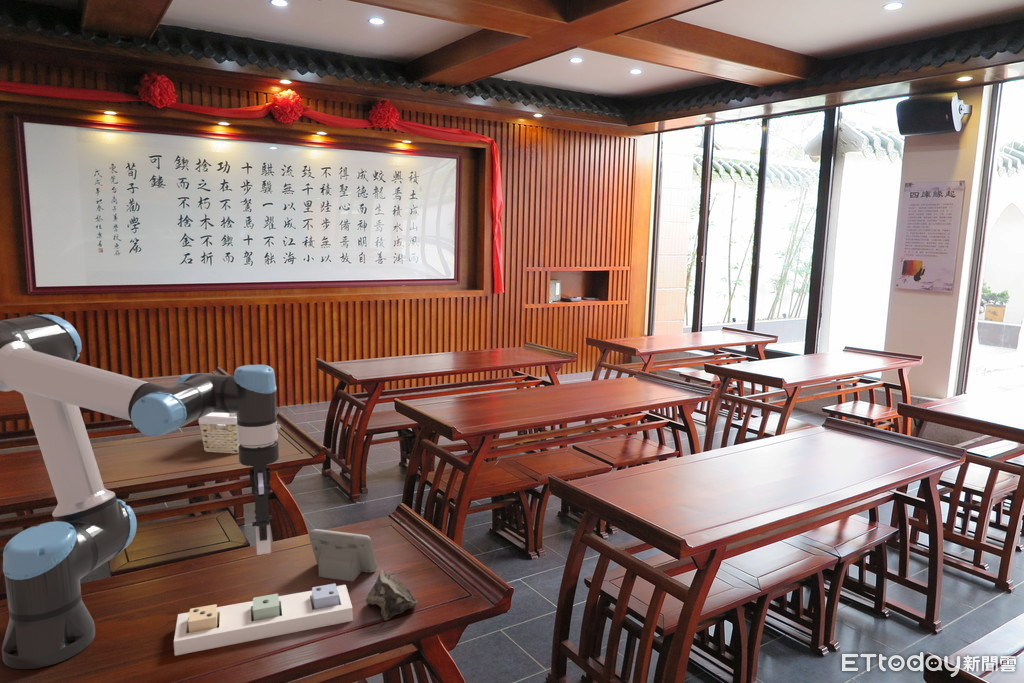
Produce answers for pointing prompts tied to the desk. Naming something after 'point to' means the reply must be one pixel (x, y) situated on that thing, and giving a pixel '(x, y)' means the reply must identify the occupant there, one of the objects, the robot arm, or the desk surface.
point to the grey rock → (390, 596)
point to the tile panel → (261, 622)
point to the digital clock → (342, 554)
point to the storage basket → (219, 432)
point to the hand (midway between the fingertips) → (263, 552)
